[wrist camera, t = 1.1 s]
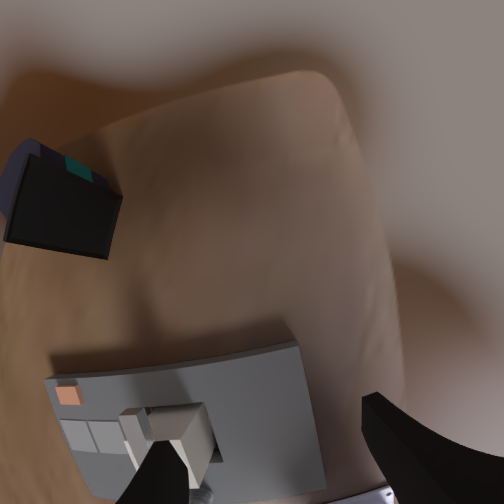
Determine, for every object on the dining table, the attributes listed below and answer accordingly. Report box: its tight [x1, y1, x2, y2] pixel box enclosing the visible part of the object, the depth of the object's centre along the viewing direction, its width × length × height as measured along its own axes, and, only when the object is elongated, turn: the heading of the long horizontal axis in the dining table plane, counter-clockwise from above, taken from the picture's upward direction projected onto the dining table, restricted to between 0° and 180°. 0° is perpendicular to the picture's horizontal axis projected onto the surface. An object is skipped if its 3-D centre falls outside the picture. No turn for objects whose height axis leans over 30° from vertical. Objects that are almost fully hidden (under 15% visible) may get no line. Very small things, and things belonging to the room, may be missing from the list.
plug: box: [124, 402, 216, 489], centre depth 18 cm, size 4×4×6 cm
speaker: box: [0, 138, 123, 260], centre depth 19 cm, size 8×6×10 cm
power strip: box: [44, 340, 327, 504], centre depth 20 cm, size 13×22×3 cm, turn 103°
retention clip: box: [118, 407, 213, 504], centre depth 16 cm, size 12×2×6 cm, turn 13°
